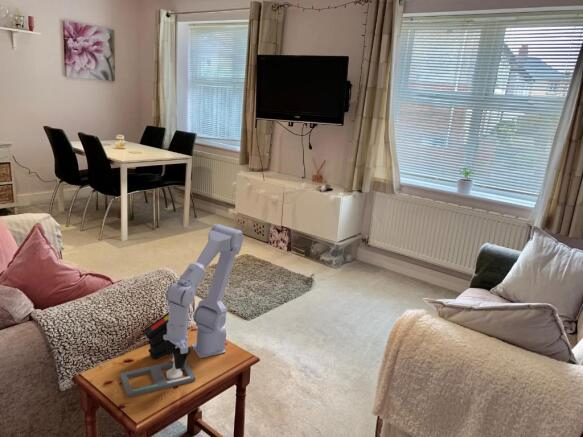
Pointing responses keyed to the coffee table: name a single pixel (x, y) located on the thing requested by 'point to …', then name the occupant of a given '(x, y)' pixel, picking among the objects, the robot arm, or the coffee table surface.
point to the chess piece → (174, 372)
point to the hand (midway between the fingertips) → (175, 360)
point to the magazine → (157, 337)
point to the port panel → (155, 378)
